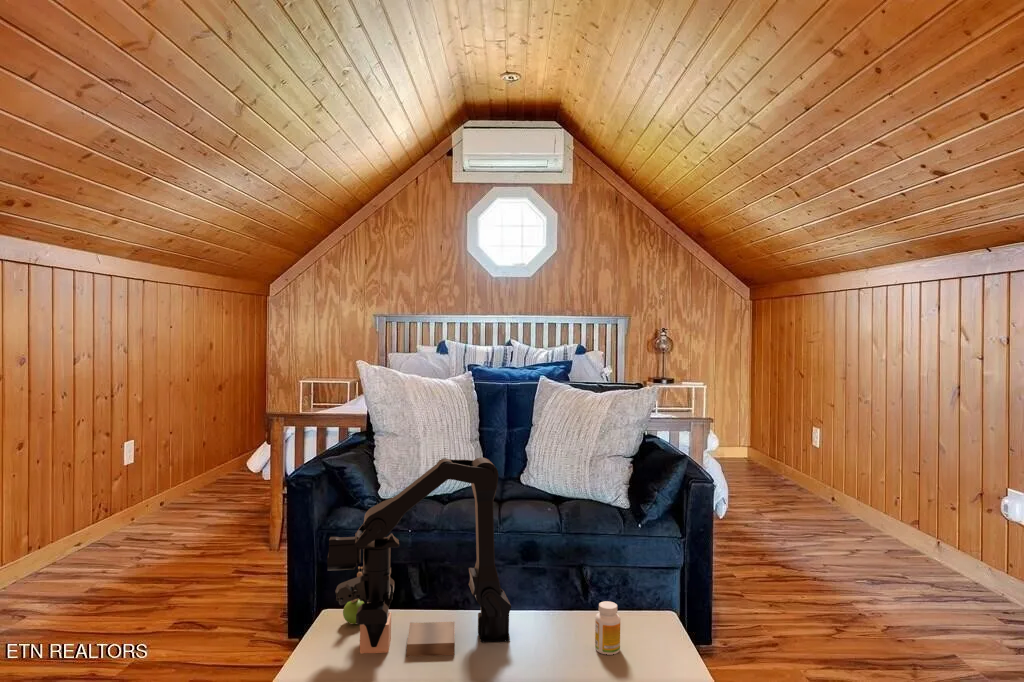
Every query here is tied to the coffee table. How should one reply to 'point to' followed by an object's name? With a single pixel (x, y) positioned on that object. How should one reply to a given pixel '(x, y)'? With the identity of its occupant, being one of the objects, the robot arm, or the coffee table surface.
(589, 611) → the coffee table surface
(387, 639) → the terracotta cube
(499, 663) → the coffee table surface
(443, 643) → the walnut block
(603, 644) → the supplement bottle
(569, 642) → the coffee table surface
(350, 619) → the snail figurine
